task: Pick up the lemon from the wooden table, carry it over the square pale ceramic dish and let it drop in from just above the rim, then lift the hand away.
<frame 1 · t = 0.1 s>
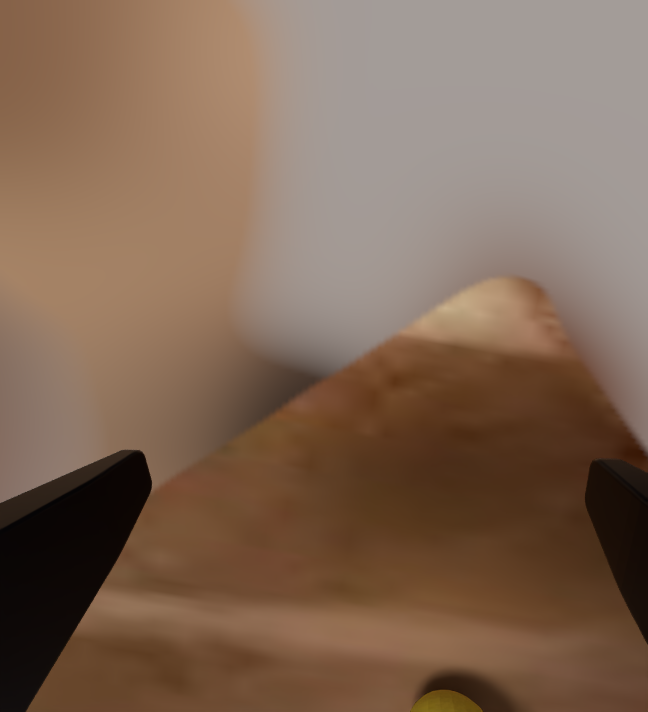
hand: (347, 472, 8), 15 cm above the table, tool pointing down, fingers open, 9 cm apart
lemon: (444, 693, 25), on the table
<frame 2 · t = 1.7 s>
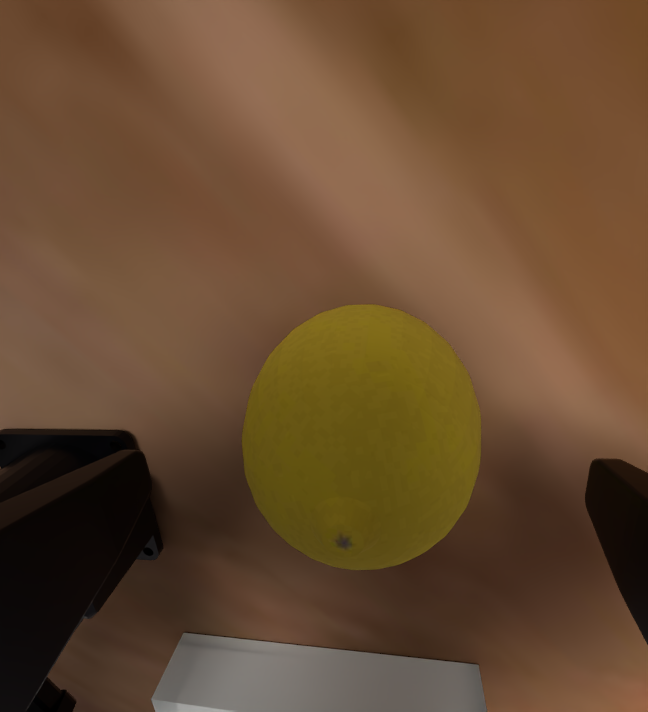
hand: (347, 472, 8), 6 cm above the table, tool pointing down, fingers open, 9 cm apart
lemon: (370, 357, 14), on the table
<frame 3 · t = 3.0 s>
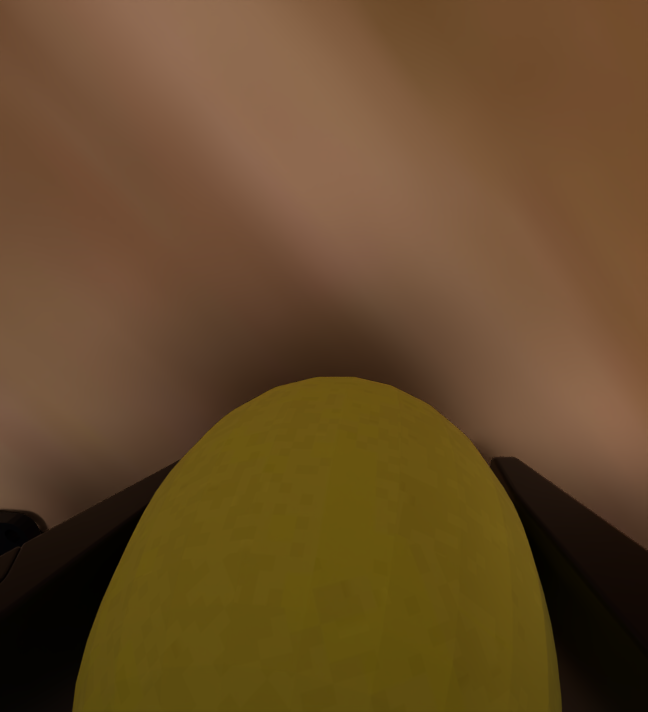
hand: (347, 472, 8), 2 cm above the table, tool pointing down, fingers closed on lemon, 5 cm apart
lemon: (354, 428, 10), on the table, touching gripper
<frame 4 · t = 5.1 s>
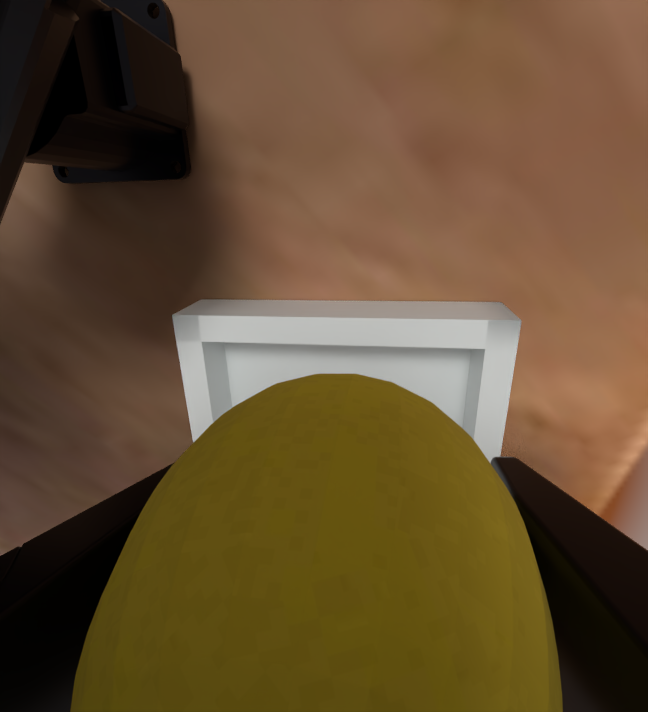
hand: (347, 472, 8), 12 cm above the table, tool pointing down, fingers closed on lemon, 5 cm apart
lemon: (355, 426, 10), point 10 cm above the table, touching gripper
dish: (344, 430, 22), on the table
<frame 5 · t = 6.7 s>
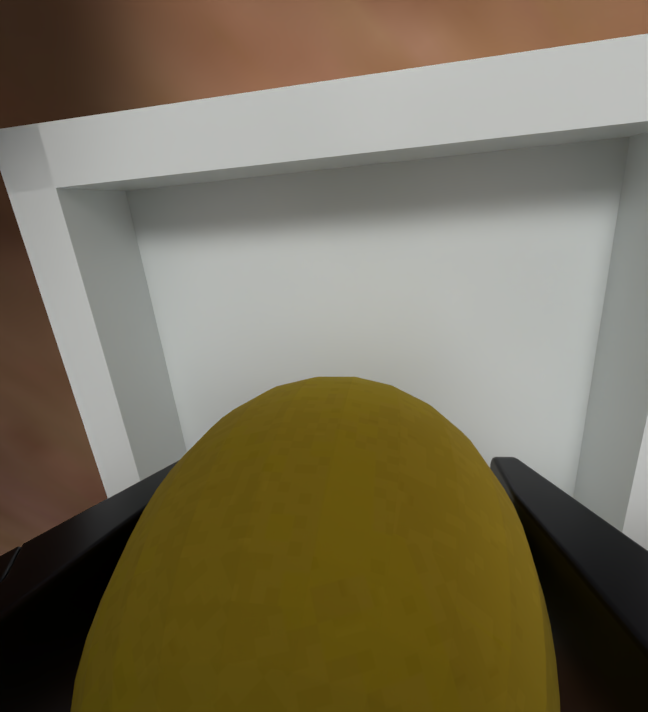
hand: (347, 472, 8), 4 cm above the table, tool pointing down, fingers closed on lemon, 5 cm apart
lemon: (355, 428, 10), point 3 cm above the table, touching gripper
dish: (364, 384, 12), on the table
when the fingers open (4 cm above the table, at t = 7.2 s): lemon drops 2 cm, resting on dish.
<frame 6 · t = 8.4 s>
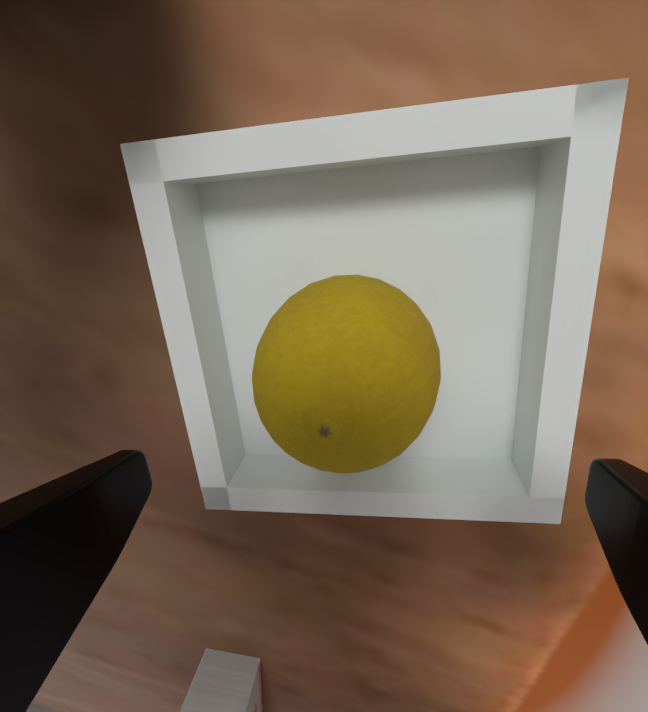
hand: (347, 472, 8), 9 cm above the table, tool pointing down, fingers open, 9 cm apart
lemon: (361, 328, 16), resting on dish
dish: (365, 326, 17), on the table
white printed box: (236, 682, 27), on the table
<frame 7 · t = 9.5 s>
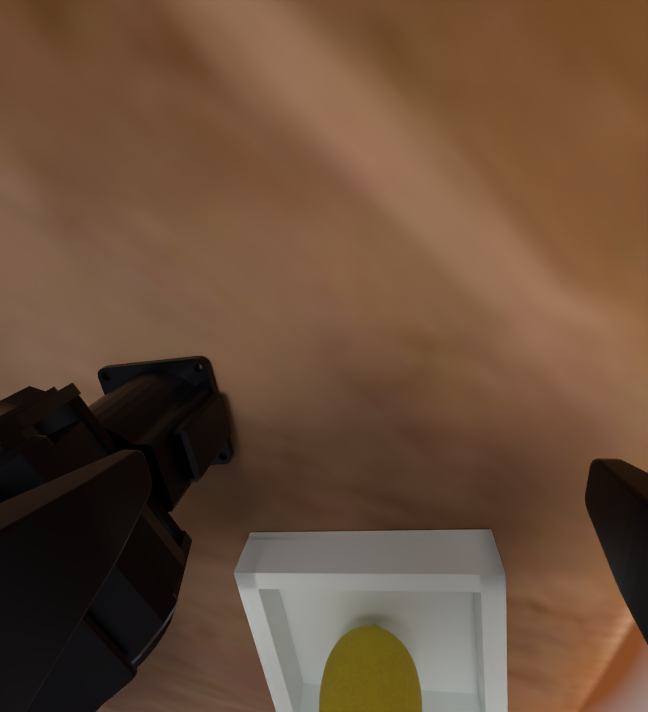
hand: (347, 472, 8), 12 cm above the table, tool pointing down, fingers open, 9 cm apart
lemon: (375, 623, 26), resting on dish
dish: (377, 617, 26), on the table
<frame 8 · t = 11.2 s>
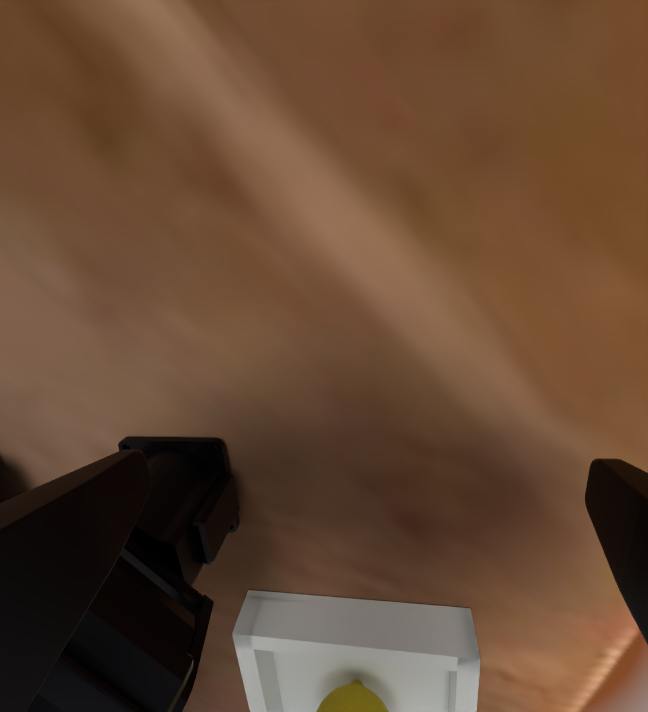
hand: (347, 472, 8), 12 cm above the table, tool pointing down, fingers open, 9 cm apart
lemon: (357, 678, 28), resting on dish
dish: (359, 672, 29), on the table
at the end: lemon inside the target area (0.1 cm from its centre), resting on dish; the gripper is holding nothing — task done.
